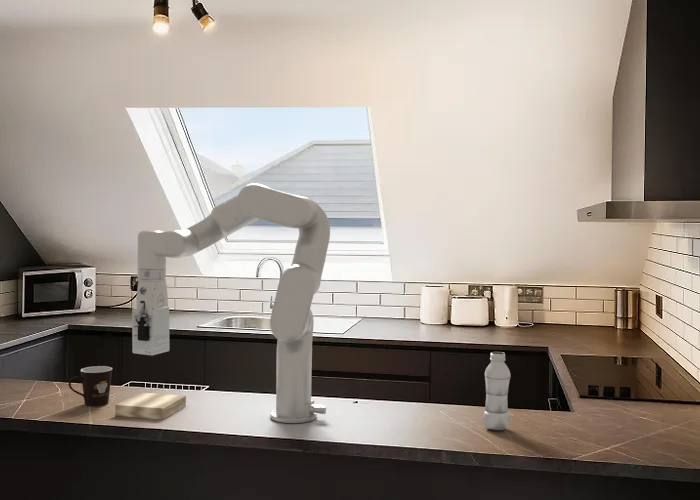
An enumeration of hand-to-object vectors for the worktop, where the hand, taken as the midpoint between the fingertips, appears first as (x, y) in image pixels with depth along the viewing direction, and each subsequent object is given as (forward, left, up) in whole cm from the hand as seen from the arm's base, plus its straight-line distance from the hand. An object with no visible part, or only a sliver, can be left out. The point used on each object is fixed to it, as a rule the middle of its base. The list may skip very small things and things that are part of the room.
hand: (151, 337), depth 196 cm
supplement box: (0, 0, -4) cm, 4 cm away
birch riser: (0, 0, -21) cm, 21 cm away
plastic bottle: (-94, -7, -21) cm, 97 cm away
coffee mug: (+20, -2, -21) cm, 29 cm away
